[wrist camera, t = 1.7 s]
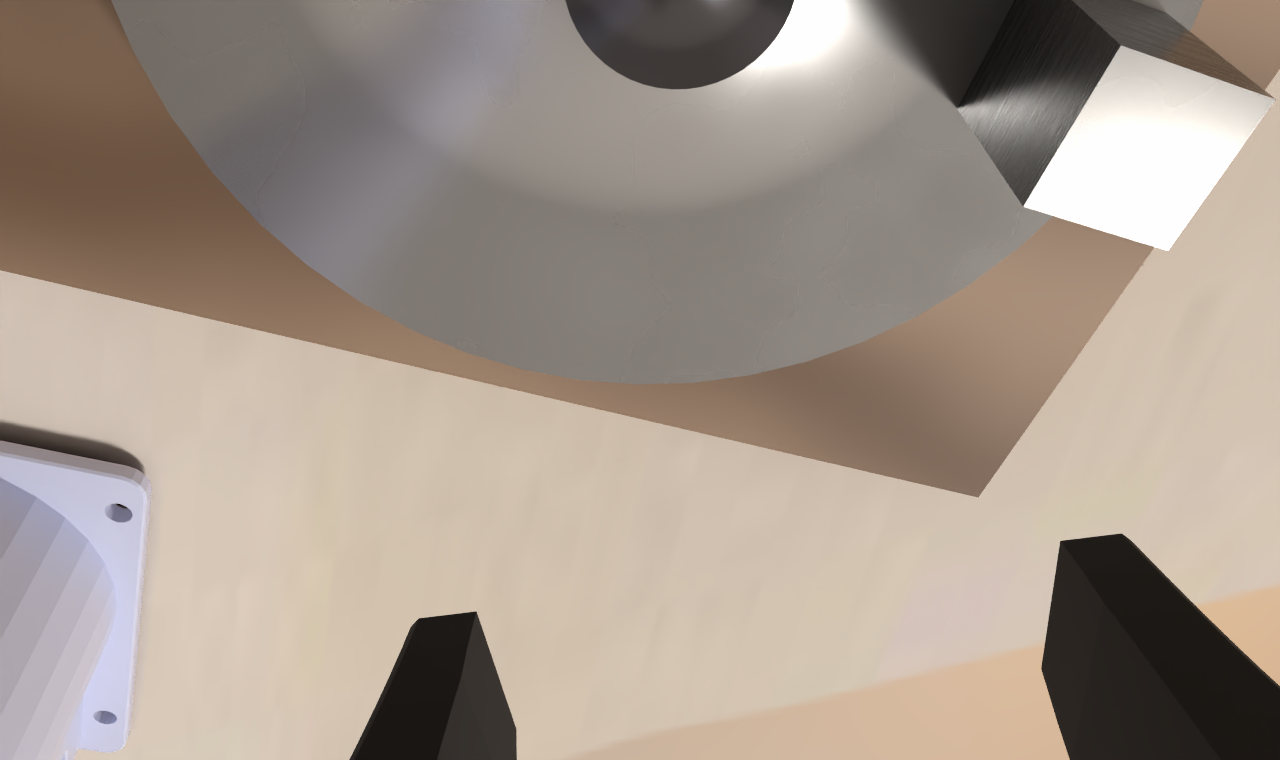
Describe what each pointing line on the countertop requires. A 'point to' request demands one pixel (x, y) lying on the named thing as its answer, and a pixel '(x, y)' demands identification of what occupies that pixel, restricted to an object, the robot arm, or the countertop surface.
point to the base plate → (325, 314)
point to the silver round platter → (689, 157)
